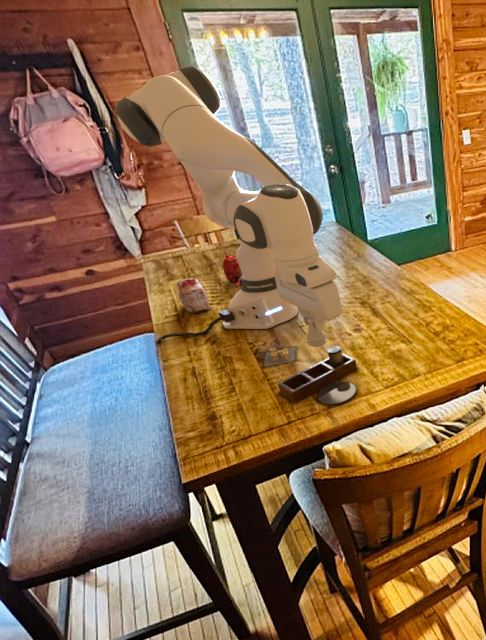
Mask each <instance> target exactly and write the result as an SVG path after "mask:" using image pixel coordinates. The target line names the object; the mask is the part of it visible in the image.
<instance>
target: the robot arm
mask: <svg viewBox="0 0 486 640" xmlns="http://www.w3.org/2000/svg"><path fill="white" fill-rule="evenodd" d="M218 90H219V89H218V88H217V86H216V84H215V82H213V80H212V79H211V78H210V77H209V76H208V75H207V74H206V73H205V72H204V71H202V70H201V69H200V68H198V67H196V66H194V65H187V66H182V67H179V68H178V70H176V71H172V72H170V73H167V74H163V75H157V76H154V77H152V78H150V79H148V80H147V81H146V82H145V83H144V85H143V86H141V87H140V88H139V89H137V90H136V91H134V92H132V94H130V95H128V96H124V97H122V98H121V99H120V100H119V101H118V102H117V103H116V105H115V109H114V110H115V114H116V116H117V120H118V123H119V125H120V127H121V128H122V130H123V131H124V133H126V135H128V136H129V137H130V138H131V139H132V140H134V141H136V142H137V143H138V144H140V145H141V146H143V147H147V148H152V147H158V146H161V145H163V143H164V142H166V143H167V145H168V147H169V148H170V150H171V151H172V153H173V154H174V155H175V157H176V158H177V160H179V162H180V163H181V165H182V166H183V167H184V168H185V170H186V171H187V173H188V174H189V175H190V176H191V178H192V179H193V181H194V182H195V184H196V185H197V187H198V188H199V191H200V193H201V195H202V198H203V205H202V207H203V212H204V214H205V216H206V218H207V219H208V220H209V221H210V222H212V223H213V224H215V225H217V226H220V227H222V228H225V229H230V230H235V231H236V234H237V236H238V238H239V240H240V246H238V248H237V249H236V252H235V256H236V258H237V260H238V263H239V266H240V269H241V272H242V275H241V278H240V279H239V280H238V281H237V282H236V285H237V287H238V288H239V287H240V290H238V291H237V292H236V293H235V295H234V296H233V297H232V298H231V299H230V301H229V302H228V304H227V309H226V308H224V309H222V310H220V311H217V313H218V316H219V317H218V318H216V319H214V320H213V321H212V322H210V324H209V325H208V327H207V328H205V329H204V330H202V331H198V332H191V331H190V332H189V331H188V332H175V333H174V332H173V333H167V334H164V335H162V336H161V337H159V338H158V339H159V340H158V339H157V340H156V343H155V344H156V345H159V344H161V343H162V342H163V341H164V340H166V339H167V338H175V337H188V336H191V337H198V336H202V335H205V334H207V333H208V332H210V331H211V330H212V329H213V328H214V325H216V324H217V323H219V322H220V321H223V328H224V329H231V330H232V329H233V330H234V329H238V330H240V329H241V330H253V329H254V330H268V329H271V328H273V327H275V326H277V325H279V324H282V323H285V322H287V321H289V320H292V319H293V318H294V317H296V316H297V315H298V313H299V314H300V315H301V317H302V321H303V324H305V325H307V326H308V322H307V317H305V316H304V314H305V313H306V312H305V311H307V312H309V313H312V314H313V317H315V322H313V325H314V328H315V329H317V330H319V331H320V330H322V331H323V330H324V329H325V328H326V325H325V321H327V322H329V321H332V320H334V319H336V318H339V317H341V315H342V311H343V307H342V302H341V297H340V293H339V292H340V291H339V289H338V286H337V284H336V282H335V281H334V280H336V279H337V274H336V271H335V269H334V268H333V267H332V266H331V265H329V264H328V263H327V262H326V261H325V259H324V258H323V257H322V256H321V255H320V252H319V249H318V246H317V245H316V243H315V239H314V235H316V234H318V231H319V230H320V229H321V226H322V223H323V218H324V212H323V208H322V205H321V203H320V201H319V199H318V198H317V197H316V196H315V195H314V194H313V193H311V192H310V191H309V190H308V189H306V188H305V187H303V186H302V185H300V184H299V183H298V182H297V181H296V180H294V179H293V178H292V177H291V176H290V175H289V174H288V173H287V171H285V170H284V169H283V168H282V167H281V166H280V165H279V164H278V163H277V162H276V161H274V159H273V158H271V156H270V155H268V153H266V151H264V150H263V149H262V148H261V147H260V146H259V145H258V144H257V143H256V142H255V141H254V140H252V139H250V138H249V137H247V136H245V135H243V134H240V133H238V132H236V131H235V130H233V129H231V128H230V127H228V125H226V124H225V123H223V122H222V121H220V119H219V118H217V116H215V115H216V114H217V113H218V112H219V111H220V110H221V105H222V99H221V96H220V92H219V91H218ZM236 172H238V173H242V174H246V175H248V176H250V177H252V178H254V179H255V180H256V181H257V182H259V184H261V185H262V187H261V188H260V189H259V190H258V191H249V190H244V189H243V188H241V187H240V186H239V185H238V183H237V181H236V179H235V173H236ZM161 339H162V340H161Z"/></svg>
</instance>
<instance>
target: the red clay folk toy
mask: <svg viewBox="0 0 486 640" xmlns="http://www.w3.org/2000/svg"><path fill="white" fill-rule="evenodd" d="M217 242H218V243H217V245H215V248H216V249H219V248H220V247H221V249H222V251H223V252H224V255H225V257H224V258H223V261H222V270H223V274H224V276H225V277H226V279H227V280H228V281H229V282H233V283H234V282H238V280H239V279H240V278H241V275H242V272H241V269H240V266H239V263H238V260H237V257H236V255H235V254H232V255H230V256H229V255H228V254H227V252H226V249H225V248H224V247H223V245H222V244H223V242H220V241H219V240H217Z"/></svg>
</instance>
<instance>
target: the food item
mask: <svg viewBox="0 0 486 640" xmlns="http://www.w3.org/2000/svg"><path fill="white" fill-rule="evenodd" d="M177 288H178V290H177V293H178V297H179V300H180V301H181V304H182V306H183V307H184V309H185V310H186V311H187V312H189V313H190V314H194V313H195V314H196V313H200V312H205V311H208V310H210V309H211V307H210V301H209V298H208V296H207V292H206V291H205V289H204V287H203V285H202V284H201V282H200V281H199V280H198V279H197V278H194V277H191V278H189V277H188V278H184V279H181V280H179V281H178V282H177ZM196 310H197V311H196ZM191 311H192V312H191Z"/></svg>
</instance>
